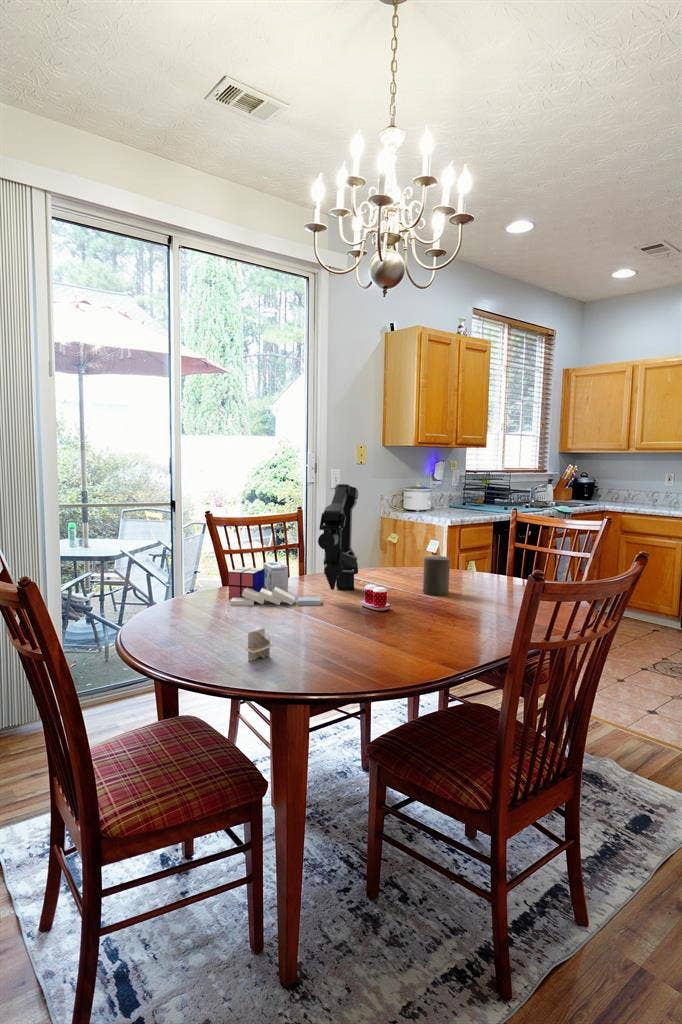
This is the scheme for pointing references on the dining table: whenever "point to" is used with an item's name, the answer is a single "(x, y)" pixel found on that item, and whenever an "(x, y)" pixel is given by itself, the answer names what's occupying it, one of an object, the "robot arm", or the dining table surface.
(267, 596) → the domino
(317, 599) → the domino
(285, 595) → the domino
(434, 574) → the dark grey cylinder
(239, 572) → the puzzle cube
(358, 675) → the dining table surface
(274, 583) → the light bulb box
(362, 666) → the dining table surface
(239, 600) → the domino
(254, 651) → the architectural model
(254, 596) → the domino
